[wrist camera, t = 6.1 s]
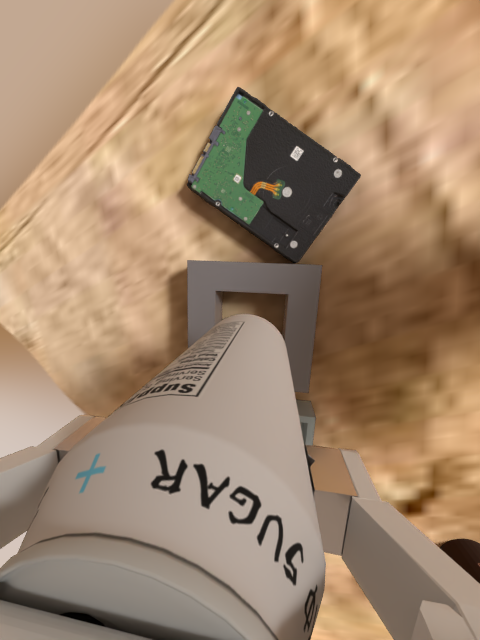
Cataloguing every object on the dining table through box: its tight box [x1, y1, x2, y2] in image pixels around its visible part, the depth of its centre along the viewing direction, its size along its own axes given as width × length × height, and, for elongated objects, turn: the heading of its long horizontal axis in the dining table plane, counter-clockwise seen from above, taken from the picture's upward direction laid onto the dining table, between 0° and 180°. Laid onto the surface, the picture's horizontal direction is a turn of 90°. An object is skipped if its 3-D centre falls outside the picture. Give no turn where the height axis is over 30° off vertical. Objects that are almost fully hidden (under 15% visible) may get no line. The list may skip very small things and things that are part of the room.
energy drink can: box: [0, 314, 326, 640], centre depth 10 cm, size 6×6×15 cm
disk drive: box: [187, 87, 361, 263], centre depth 25 cm, size 10×3×15 cm
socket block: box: [187, 260, 322, 393], centre depth 27 cm, size 14×14×4 cm
